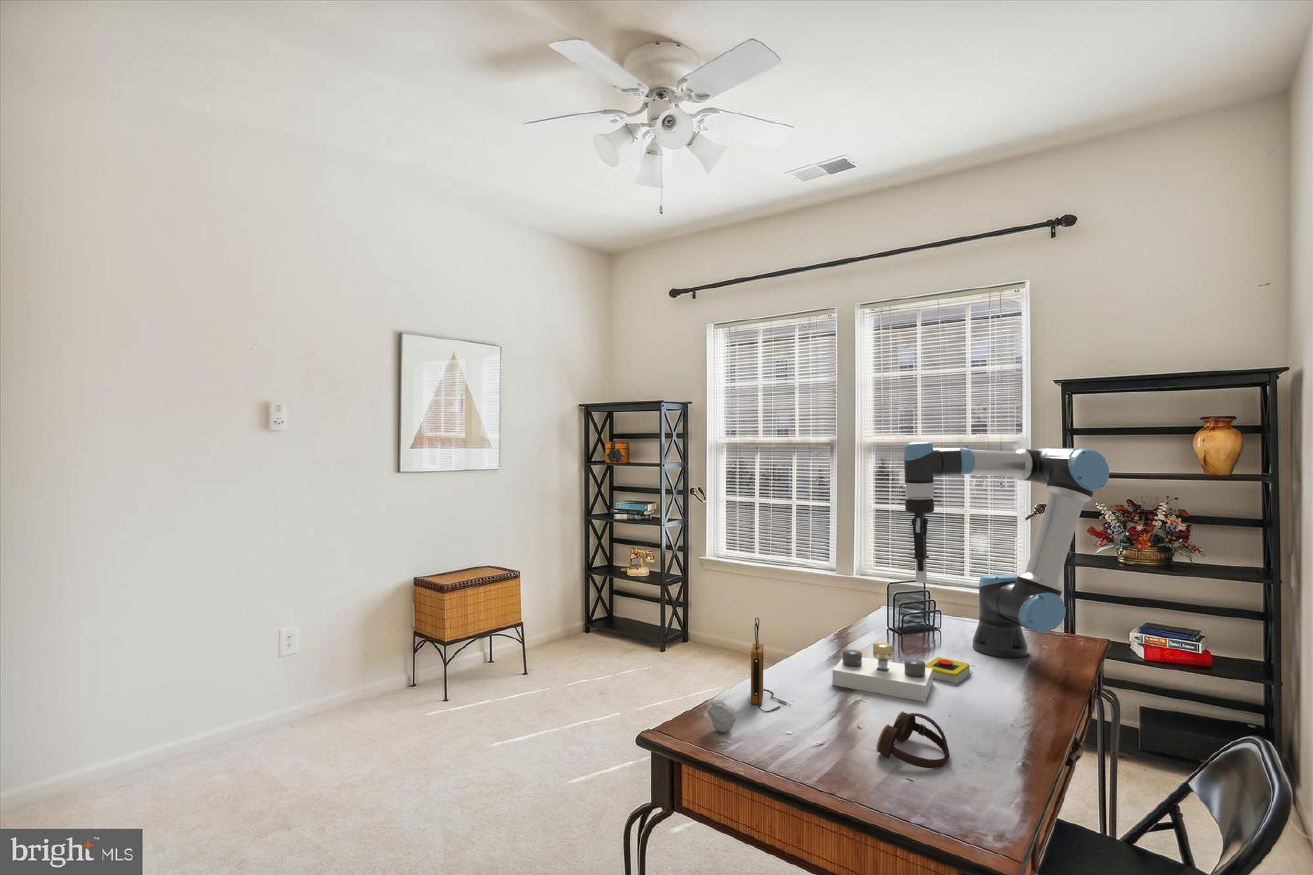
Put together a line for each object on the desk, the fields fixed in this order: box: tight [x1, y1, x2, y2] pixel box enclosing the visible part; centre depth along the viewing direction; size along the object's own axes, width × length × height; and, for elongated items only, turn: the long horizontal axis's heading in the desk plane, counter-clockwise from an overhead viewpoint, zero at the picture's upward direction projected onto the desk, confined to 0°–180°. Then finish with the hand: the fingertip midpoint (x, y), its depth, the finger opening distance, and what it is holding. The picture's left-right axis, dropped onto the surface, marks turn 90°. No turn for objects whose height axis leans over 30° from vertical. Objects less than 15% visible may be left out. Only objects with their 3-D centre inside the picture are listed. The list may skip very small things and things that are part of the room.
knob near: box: [904, 658, 926, 677], centre depth 177 cm, size 5×5×7 cm
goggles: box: [876, 710, 951, 770], centre depth 141 cm, size 15×13×10 cm
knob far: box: [842, 649, 863, 667], centre depth 185 cm, size 5×5×7 cm
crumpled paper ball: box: [706, 699, 737, 733], centre depth 152 cm, size 6×7×7 cm
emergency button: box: [925, 656, 973, 687], centre depth 188 cm, size 9×4×15 cm
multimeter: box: [750, 617, 792, 713], centre depth 169 cm, size 15×10×20 cm
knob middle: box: [872, 642, 894, 672], centre depth 181 cm, size 5×5×7 cm
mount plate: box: [832, 657, 934, 703], centre depth 181 cm, size 23×14×4 cm, turn 61°
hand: (921, 581), depth 191 cm, fingers closed
